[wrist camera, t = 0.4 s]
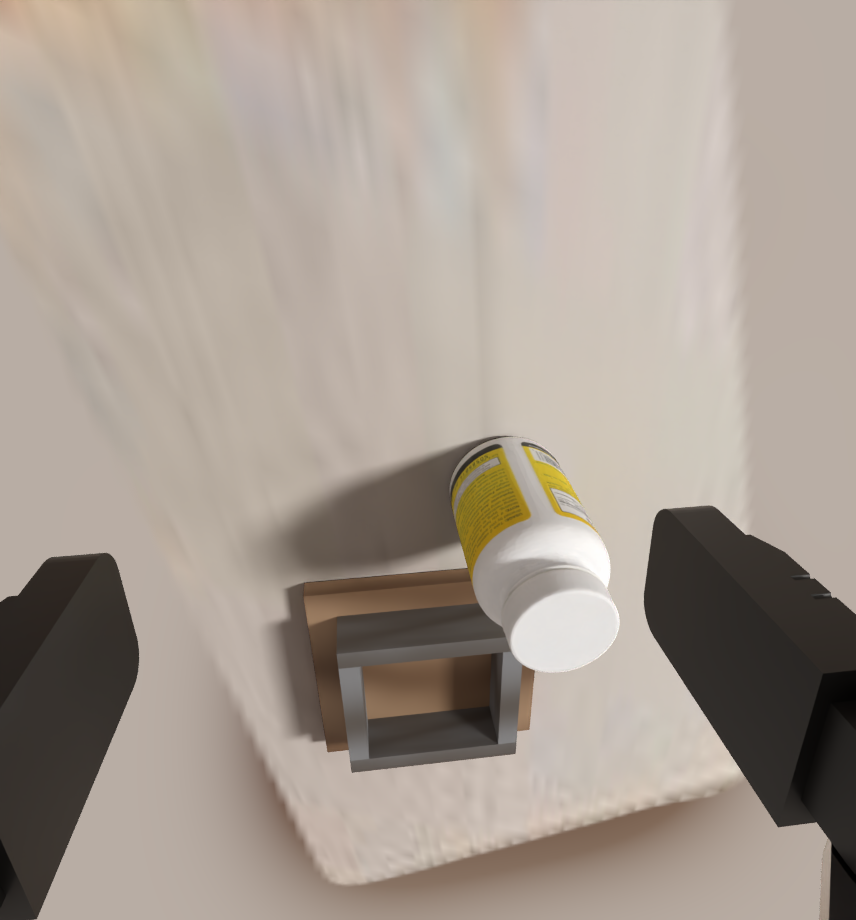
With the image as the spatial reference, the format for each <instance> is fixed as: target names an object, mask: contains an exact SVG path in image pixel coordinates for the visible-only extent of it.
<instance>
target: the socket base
mask: <svg viewBox="0 0 856 920" xmlns="http://www.w3.org/2000/svg"><path fill="white" fill-rule="evenodd" d="M303 597H304V604H305V610H306V617H307V623H308V629H309V636H310V642H311V649H312V655H313V662H314V668H315V674H316V681H317V687H318V694H319V700H320V707H321V713H322V719H323V726H324V732H325V739H326V745H327V752H334V751H343V750H349V755H350V763H351V770H352V773H353V772H362V771H371V770H379V769H388V768H397V767H405V766H414V765H423V764H432V763H440V762H449V761H458V760H466V759H475V758H484V757H493V756H501V755H510V754H515V753H516V740H517V731H522V730H529V727H530V716H531V705H532V694H533V683H534V672H535V670H533V669H530V668H528V667H526V666H524V665H523V664H521V663H520V662H519V661H517V659H516V658H515V657H514V655H513V654H512V652H511V650H510V647H509V645H508V641H507V638H506V635H505V633H504V631H503V628H502V626H500V625H498V624H497V623H495V622H494V621H493V620H491V619H490V618H489V617H488V616H487V615H486V614H485V612H484V611H483V610H482V608H481V606H480V605H479V603H478V601H477V598H476V595H475V592H474V589H473V585H472V582H471V578H470V574H469V570H468V569H457V570H445V571H434V572H423V573H412V574H400V575H389V576H378V577H367V578H355V579H344V580H333V581H322V582H310V583H304V595H303Z"/></svg>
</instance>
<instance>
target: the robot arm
mask: <svg viewBox="0 0 856 920" xmlns="http://www.w3.org/2000/svg"><path fill="white" fill-rule="evenodd" d="M644 608H645V614H646V619H647V622H648V625H649V628H650V630H651V632H652V634H653V636H654V638H655V639H656V641H657V642H658V644H659V645H660V647H661V648H662V650H663V652H664V653H665V655H666V656H667V658H668V659H669V661H670V662H671V664H672V665H673V667H674V668H675V670H676V671H677V673H678V674H679V676H680V678H681V679H682V681H683V682H684V684H685V685H686V687H687V688H688V690H689V691H690V693H691V694H692V696H693V697H694V699H695V701H696V702H697V704H698V705H699V707H700V708H701V710H702V711H703V713H704V714H705V716H706V717H707V719H708V720H709V722H710V724H711V725H712V727H713V728H714V730H715V731H716V733H717V734H718V736H719V737H720V739H721V740H722V742H723V743H724V745H725V747H726V748H727V750H728V751H729V753H730V754H731V756H732V757H733V759H734V760H735V762H736V763H737V765H738V766H739V768H740V769H741V771H742V773H743V774H744V776H745V777H746V779H747V780H748V782H749V783H750V785H751V786H752V788H753V789H754V791H755V792H756V794H757V795H758V797H759V799H760V800H761V802H762V803H763V804H764V806H765V808H766V809H767V811H768V812H769V814H770V815H771V817H772V818H773V820H774V822H775V823H776V824H777V826H778V827H784V826H791V825H799V824H807V823H815V822H817V823H818V825H819V826H820V827H821V828H822V830H823V831H824V833H825V834H826V835H827V837H828V839H827V842H826V845H825V848H824V851H823V857H822V871H821V894H820V915H819V920H856V614H855V613H853V612H852V611H851V610H850V609H849V608H848V607H847V606H845V605H844V604H843V603H842V602H841V601H840V600H839V599H837V598H832V597H831V592H829V591H828V590H827V589H826V588H825V587H824V586H823V585H821V584H820V583H819V582H818V581H817V580H816V579H810V574H809V573H808V572H807V571H806V570H804V569H803V568H802V567H801V566H800V565H799V564H797V563H796V562H795V561H794V560H793V559H792V558H791V557H789V556H788V555H787V554H786V553H785V552H783V551H781V550H779V549H777V548H776V547H773V546H771V545H770V544H768V543H766V542H764V541H762V540H760V539H758V538H756V537H754V536H752V535H745V534H744V533H743V532H742V531H741V530H740V529H739V528H737V527H736V526H735V525H734V524H733V523H732V522H731V521H730V520H729V519H728V518H727V517H725V516H724V515H723V514H722V513H721V512H720V511H719V510H718V509H716V508H715V507H713V506H697V507H685V508H673V509H663V510H661V511H659V512H658V514H657V515H656V517H655V520H654V525H653V531H652V539H651V546H650V554H649V561H648V568H647V576H646V583H645V591H644ZM138 665H139V648H138V641H137V636H136V633H135V629H134V625H133V622H132V618H131V614H130V610H129V607H128V603H127V600H126V596H125V592H124V588H123V585H122V581H121V577H120V573H119V570H118V567H117V564H116V562H115V560H114V558H113V557H112V556H111V555H110V554H108V553H99V554H87V555H75V556H63V557H52V558H49V559H47V560H46V561H45V562H44V563H43V564H42V566H41V567H40V568H39V569H38V571H37V572H36V573H35V575H34V576H33V577H32V578H31V580H30V581H29V582H28V584H27V585H26V586H25V587H24V589H23V590H22V591H21V593H20V594H19V595H18V596H11V597H7V598H6V599H4V600H3V601H1V602H0V920H34V919H37V917H38V915H39V912H40V910H41V908H42V905H43V903H44V900H45V898H46V895H47V893H48V891H49V889H50V886H51V884H52V881H53V879H54V877H55V874H56V872H57V869H58V867H59V865H60V862H61V859H62V857H63V855H64V853H65V850H66V848H67V845H68V843H69V841H70V838H71V836H72V833H73V831H74V829H75V826H76V824H77V822H78V819H79V817H80V814H81V812H82V809H83V807H84V805H85V802H86V800H87V798H88V795H89V793H90V790H91V788H92V785H93V783H94V781H95V778H96V776H97V774H98V771H99V769H100V766H101V764H102V762H103V759H104V757H105V755H106V752H107V750H108V747H109V745H110V742H111V740H112V738H113V735H114V733H115V731H116V728H117V726H118V723H119V721H120V719H121V716H122V714H123V711H124V709H125V707H126V704H127V702H128V699H129V697H130V695H131V692H132V690H133V688H134V685H135V682H136V678H137V673H138Z"/></svg>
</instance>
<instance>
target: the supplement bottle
mask: <svg viewBox="0 0 856 920" xmlns="http://www.w3.org/2000/svg"><path fill="white" fill-rule="evenodd" d="M450 501H451V506H452V511H453V515H454V519H455V522H456V526H457V530H458V534H459V537H460V541H461V545H462V548H463V552H464V556H465V559H466V563H467V567H468V570H469V574H470V578H471V582H472V585H473V589H474V592H475V595H476V598H477V601H478V603H479V605H480V606H481V608H482V610H483V611H484V612H485V614H486V615H487V616H488V617H489V618H490V619H491V620H493V621H494V622H495V623H497V624H498V625H500V626H502V628H503V631H504V633H505V635H506V638H507V641H508V645H509V647H510V650H511V652H512V654H513V655H514V657H515V658H516V659H517V661H519V662H520V663H521V664H523V665H524V666H526V667H528V668H530V669H533V670H535V671H540V672H547V673H556V672H566V671H570V670H574V669H577V668H580V667H582V666H585V665H587V664H589V663H590V662H592V661H594V660H595V659H597V658H598V657H600V656H601V655H602V654H603V653H604V652H605V651H606V650H607V649H608V648H609V647H610V646H611V644H612V643H613V641H614V639H615V638H616V636H617V633H618V629H619V614H618V611H617V608H616V606H615V604H614V602H613V600H612V598H611V596H610V594H609V592H608V590H607V586H608V583H609V578H610V559H609V555H608V552H607V550H606V547H605V545H604V543H603V541H602V539H601V537H600V536H599V534H598V532H597V530H596V529H595V527H594V525H593V523H592V522H591V520H590V518H589V516H588V515H587V513H586V511H585V509H584V508H583V506H582V504H581V502H580V501H579V499H578V497H577V495H576V494H575V492H574V490H573V488H572V487H571V485H570V483H569V481H568V479H567V478H566V476H565V474H564V472H563V471H562V469H561V467H560V466H559V464H558V462H557V461H556V459H555V458H554V457H553V455H552V454H551V453H550V452H549V451H548V450H547V449H546V448H545V447H543V446H542V445H540V444H539V443H537V442H535V441H532V440H529V439H526V438H521V437H502V438H497V439H494V440H490V441H488V442H485V443H483V444H481V445H479V446H477V447H476V448H474V449H473V450H471V451H470V452H469V453H468V454H467V455H466V456H465V457H464V458H463V459H462V460H461V461H460V462H459V464H458V465H457V467H456V469H455V471H454V473H453V475H452V478H451V482H450Z"/></svg>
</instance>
